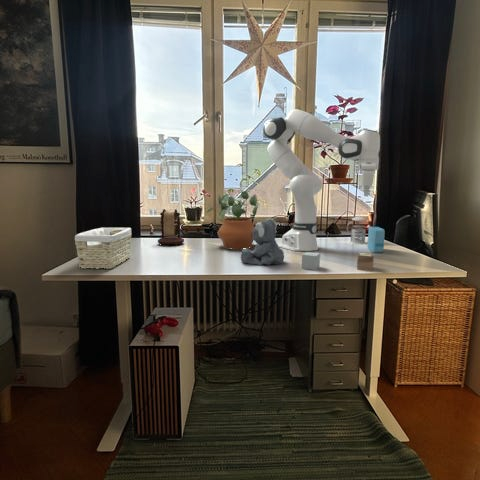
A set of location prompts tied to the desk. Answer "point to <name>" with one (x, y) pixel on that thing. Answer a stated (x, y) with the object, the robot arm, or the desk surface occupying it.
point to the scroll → (170, 228)
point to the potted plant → (236, 222)
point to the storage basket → (103, 247)
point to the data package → (376, 239)
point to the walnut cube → (365, 261)
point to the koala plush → (264, 245)
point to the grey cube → (311, 260)
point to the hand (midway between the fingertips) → (366, 196)
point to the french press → (358, 229)
